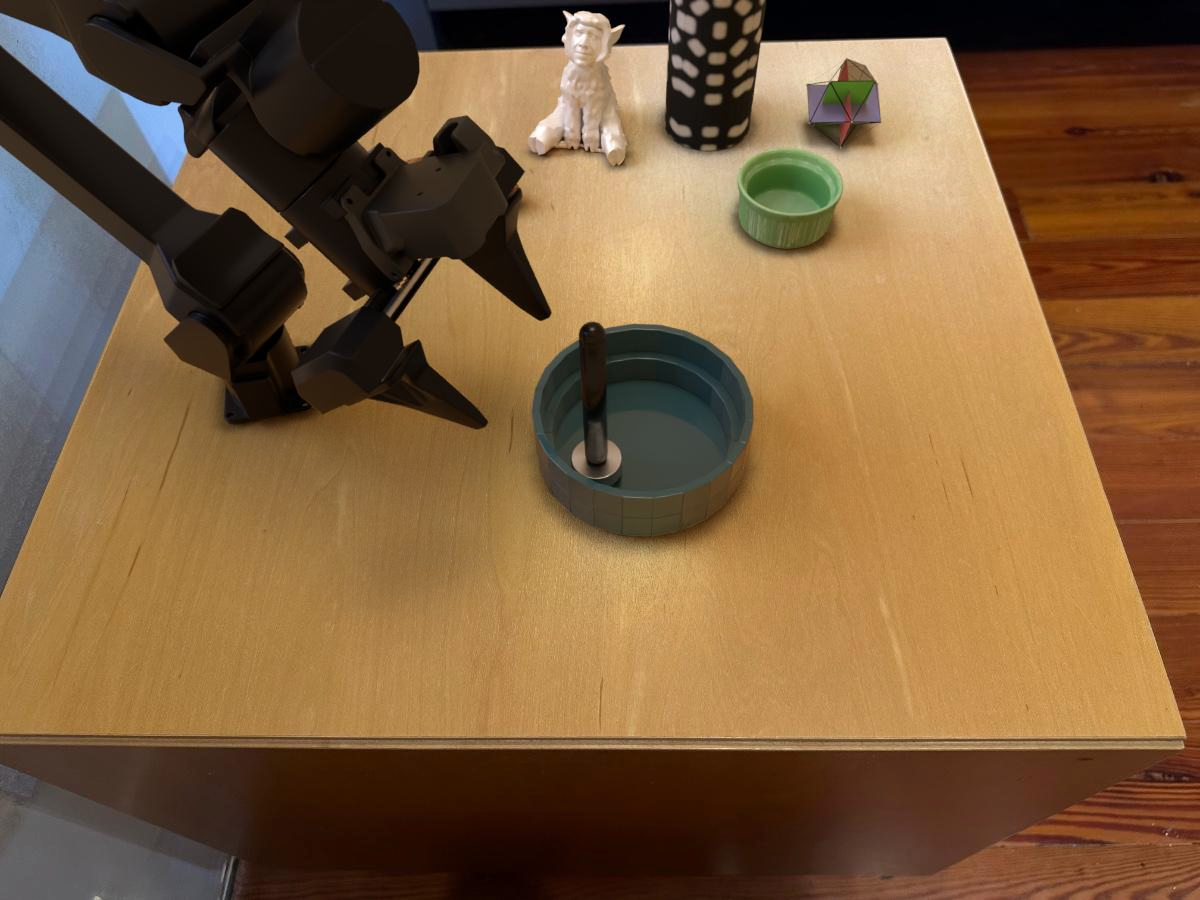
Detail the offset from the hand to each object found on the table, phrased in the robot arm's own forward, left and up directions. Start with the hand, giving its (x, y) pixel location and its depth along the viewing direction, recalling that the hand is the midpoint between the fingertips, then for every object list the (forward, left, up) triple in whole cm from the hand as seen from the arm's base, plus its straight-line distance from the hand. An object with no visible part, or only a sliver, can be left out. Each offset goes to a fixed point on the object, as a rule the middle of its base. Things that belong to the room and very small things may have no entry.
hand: (516, 369), depth 56 cm
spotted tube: (-38, +23, -13) cm, 46 cm away
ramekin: (-23, +26, -13) cm, 37 cm away
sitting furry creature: (-39, +11, -13) cm, 43 cm away
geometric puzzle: (-34, +35, -13) cm, 51 cm away
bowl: (-1, +8, -13) cm, 15 cm away
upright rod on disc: (+1, +5, -11) cm, 12 cm away
